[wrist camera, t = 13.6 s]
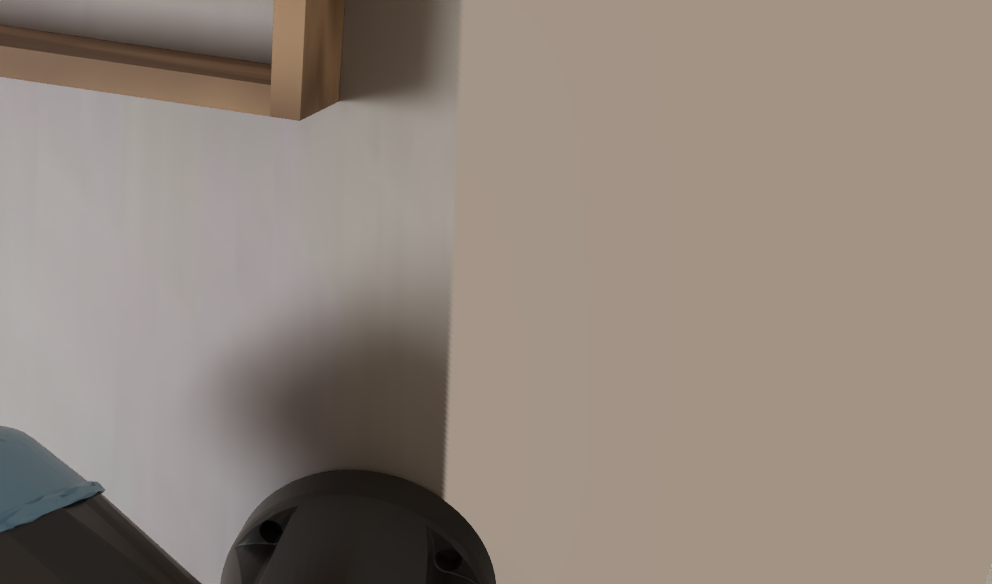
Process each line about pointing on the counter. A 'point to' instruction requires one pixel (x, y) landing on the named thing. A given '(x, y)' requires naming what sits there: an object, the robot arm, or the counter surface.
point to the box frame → (197, 65)
